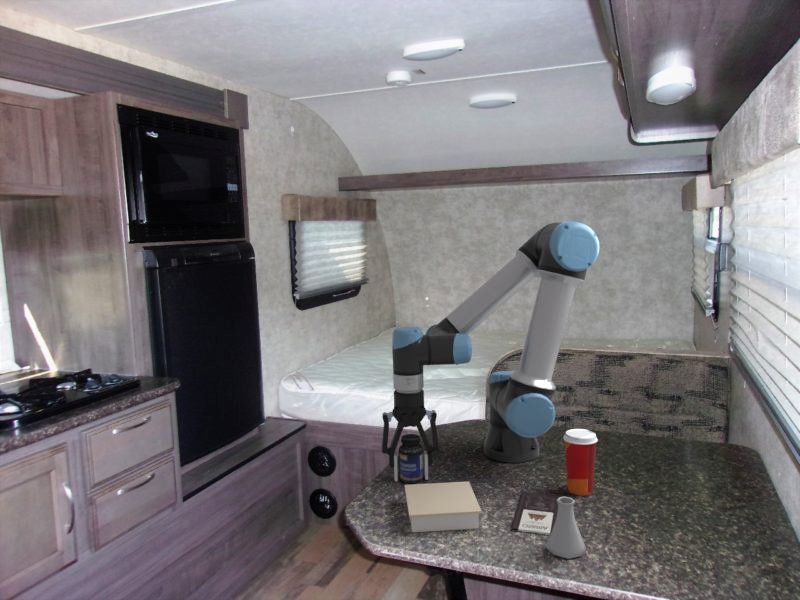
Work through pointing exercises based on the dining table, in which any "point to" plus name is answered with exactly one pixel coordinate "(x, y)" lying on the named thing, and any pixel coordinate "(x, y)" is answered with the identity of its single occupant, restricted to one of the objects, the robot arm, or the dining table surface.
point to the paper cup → (580, 460)
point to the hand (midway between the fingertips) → (411, 478)
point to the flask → (565, 532)
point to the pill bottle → (410, 459)
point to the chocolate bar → (536, 513)
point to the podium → (442, 506)
